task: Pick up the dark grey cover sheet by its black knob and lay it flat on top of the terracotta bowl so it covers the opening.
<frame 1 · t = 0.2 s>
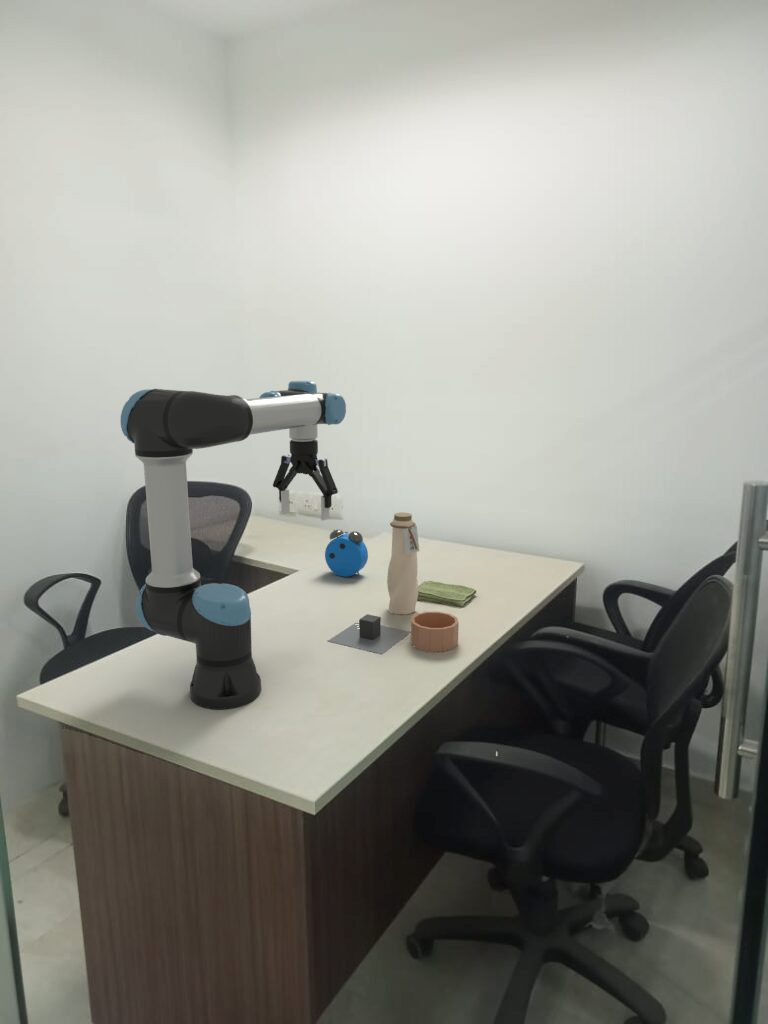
hand: (305, 516, 198), 28 cm above the table, tool pointing down, fingers open, 13 cm apart
alarm clock: (346, 575, 236), on the table
cover sheet: (370, 639, 187), on the table
washcloth: (442, 598, 217), on the table
bowl: (434, 642, 184), on the table
water bottle: (403, 610, 206), on the table
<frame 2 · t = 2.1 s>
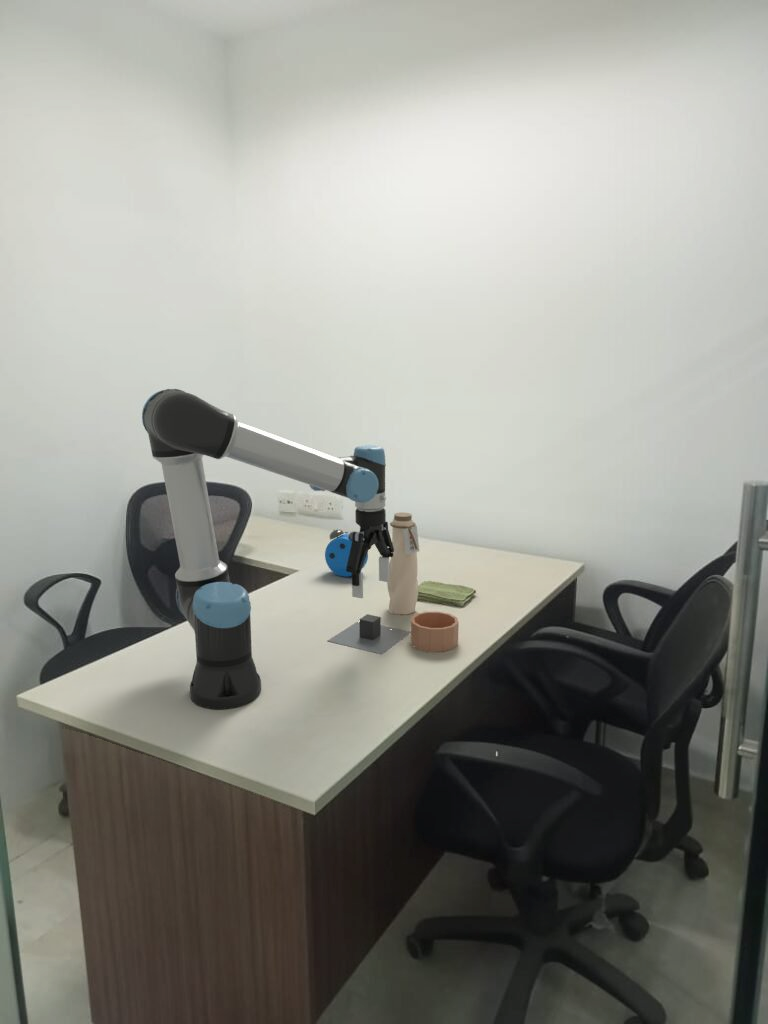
hand: (371, 588, 184), 13 cm above the table, tool pointing down, fingers open, 13 cm apart
nothing on the table moved.
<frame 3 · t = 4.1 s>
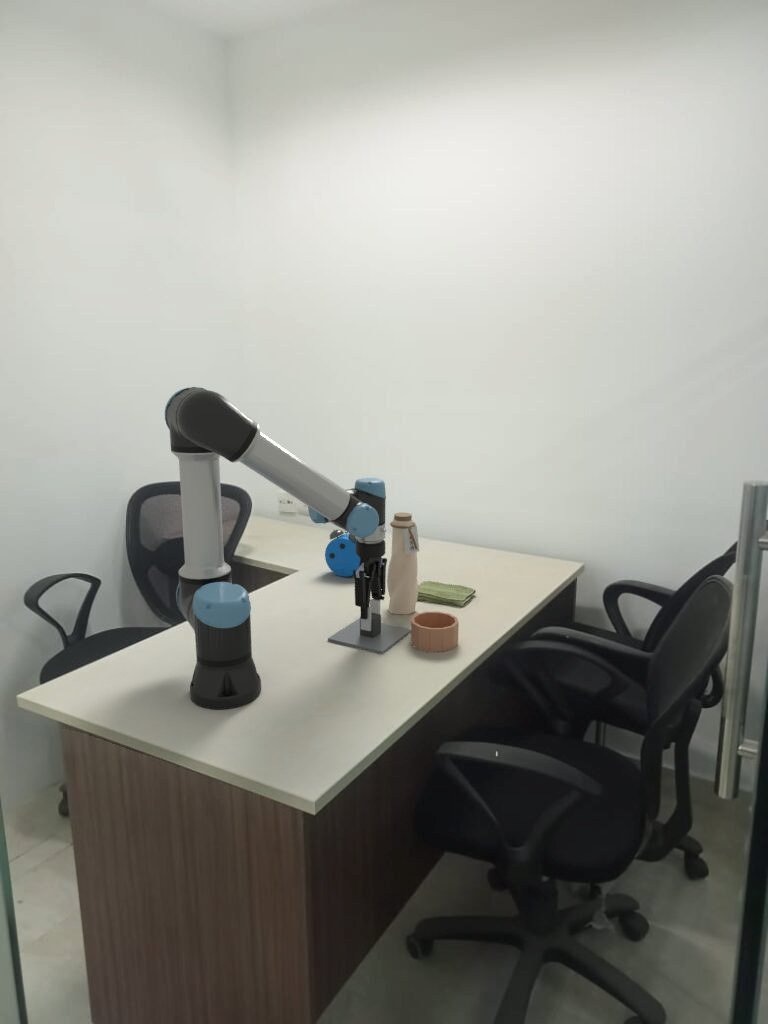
hand: (370, 626, 187), 3 cm above the table, tool pointing down, fingers closed on cover sheet, 4 cm apart
cover sheet: (370, 636, 187), on the table, touching gripper
everything else where it was.
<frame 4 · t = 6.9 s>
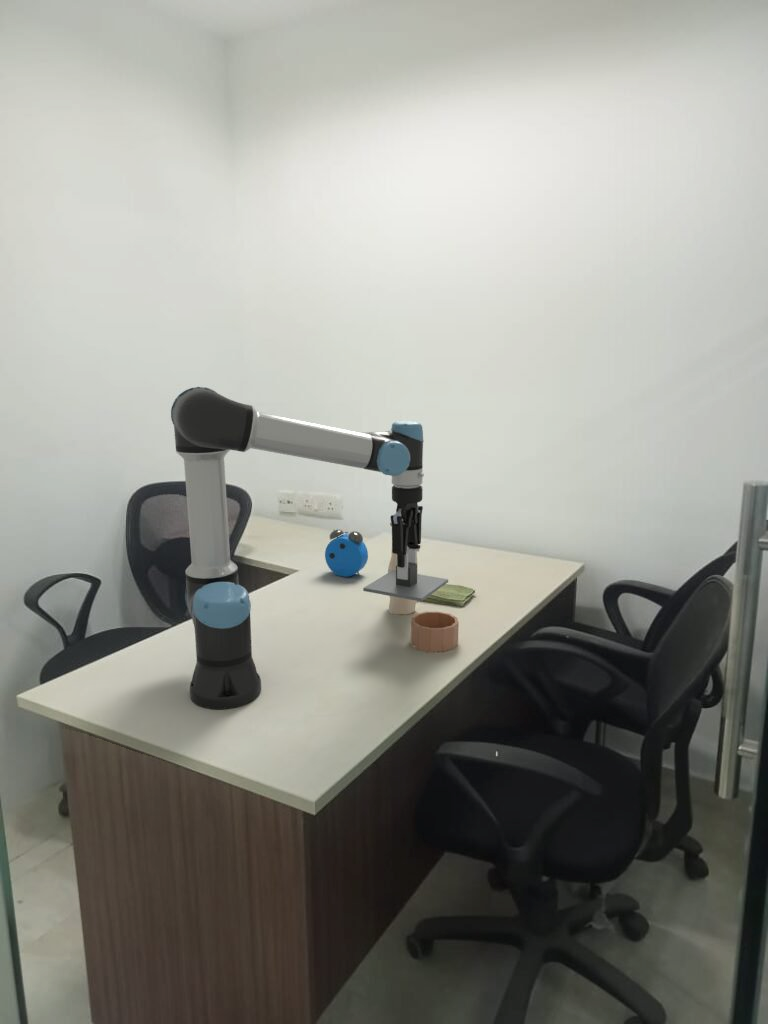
hand: (406, 575, 182), 17 cm above the table, tool pointing down, fingers closed on cover sheet, 4 cm apart
cover sheet: (406, 586, 182), point 14 cm above the table, touching gripper
everything else where it was.
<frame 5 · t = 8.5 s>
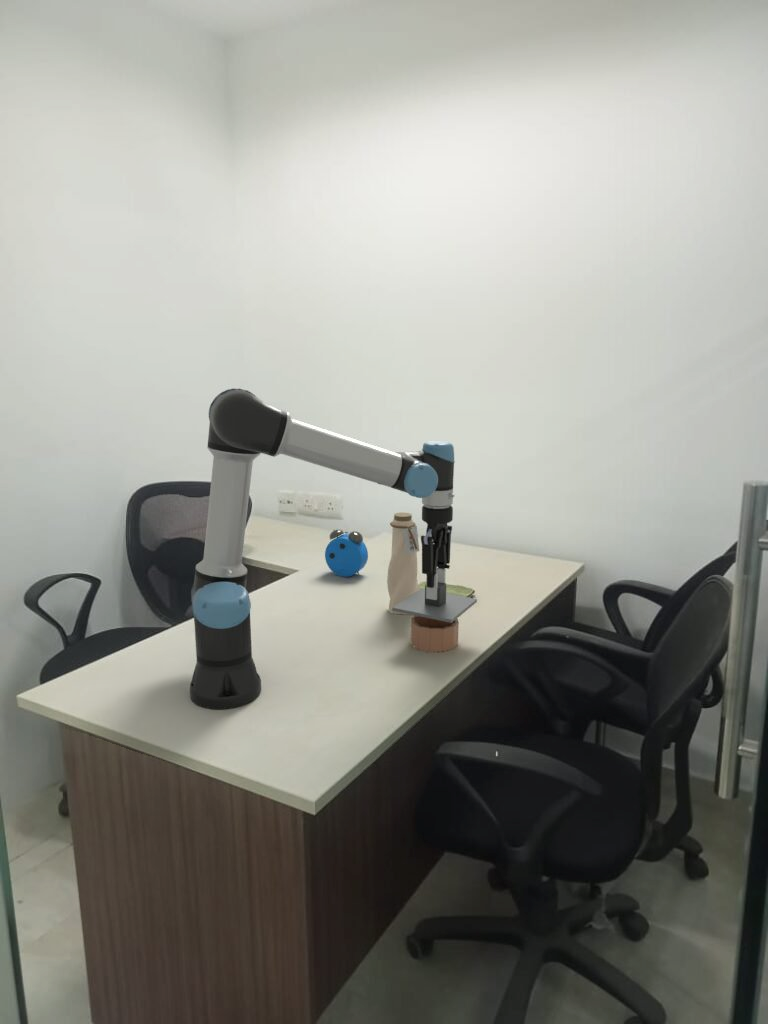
hand: (435, 595, 181), 13 cm above the table, tool pointing down, fingers closed on cover sheet, 4 cm apart
cover sheet: (435, 606, 182), point 10 cm above the table, touching gripper
everything else where it was.
when the fingers open (10 cm above the table, at t = 9.6 s): cover sheet drops 1 cm, resting on bowl.
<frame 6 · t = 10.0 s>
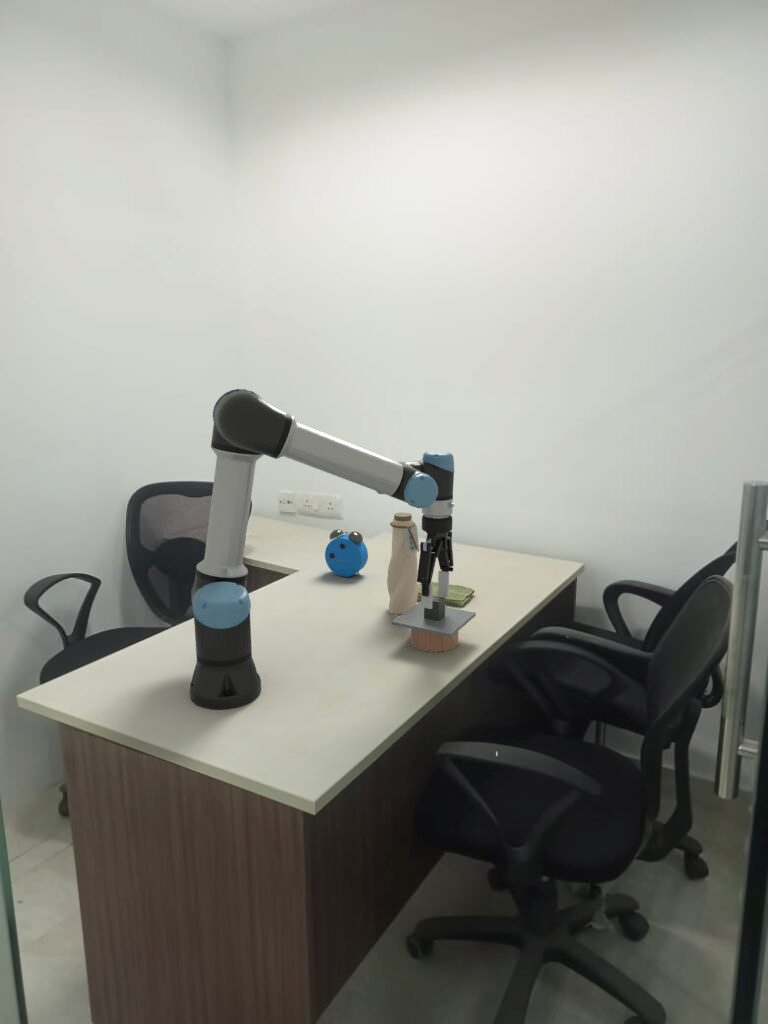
hand: (435, 601, 181), 11 cm above the table, tool pointing down, fingers open, 9 cm apart
cover sheet: (434, 620, 183), point 6 cm above the table, touching bowl
everything else where it was.
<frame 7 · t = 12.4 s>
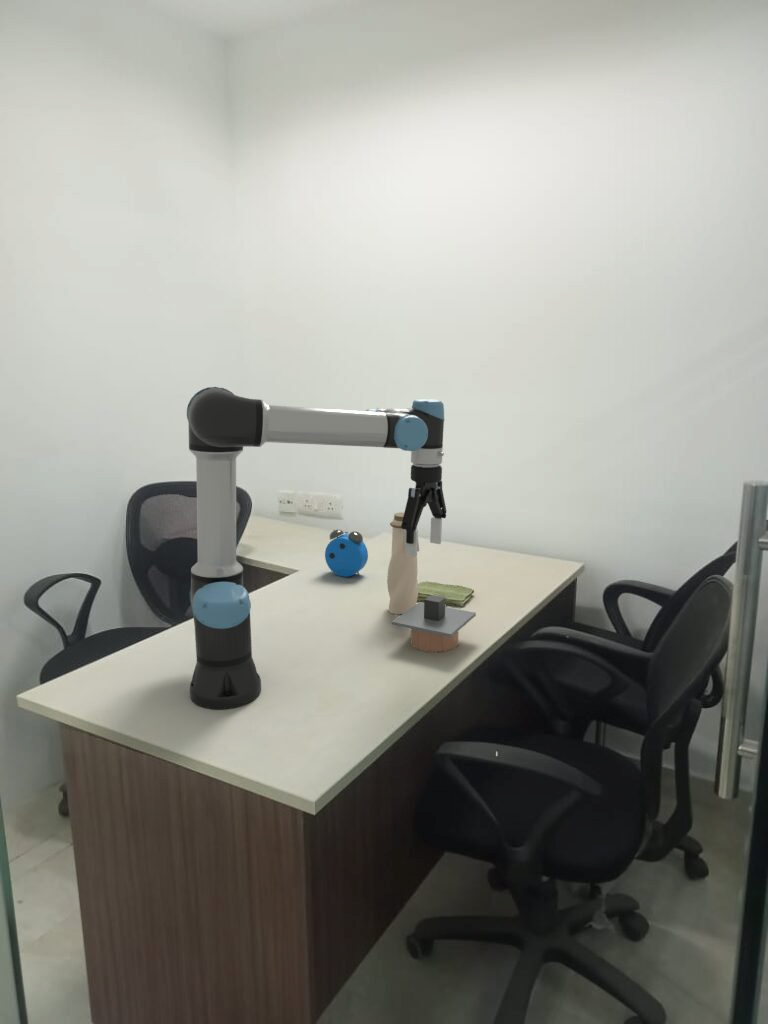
hand: (423, 549, 178), 25 cm above the table, tool pointing down, fingers open, 13 cm apart
nothing on the table moved.
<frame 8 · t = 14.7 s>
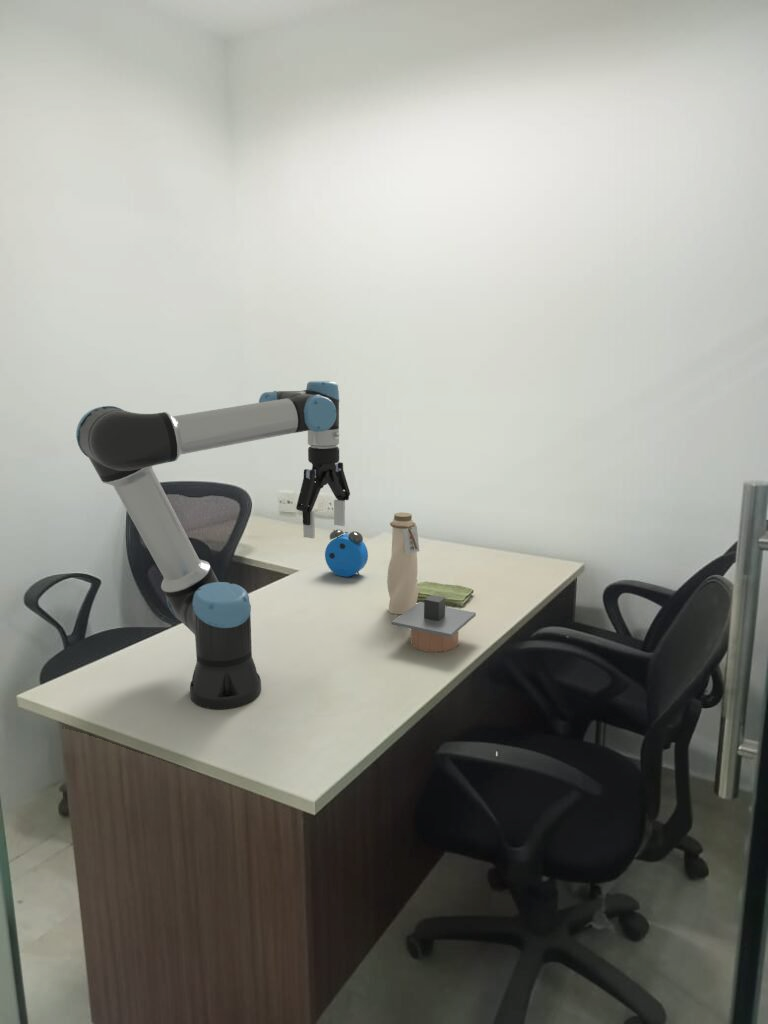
hand: (324, 531, 179), 29 cm above the table, tool pointing down, fingers open, 13 cm apart
nothing on the table moved.
at the end: cover sheet 0.1 cm from the bowl (horizontally); cover sheet point 6.0 cm above the table; cover sheet tilted 0° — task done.
